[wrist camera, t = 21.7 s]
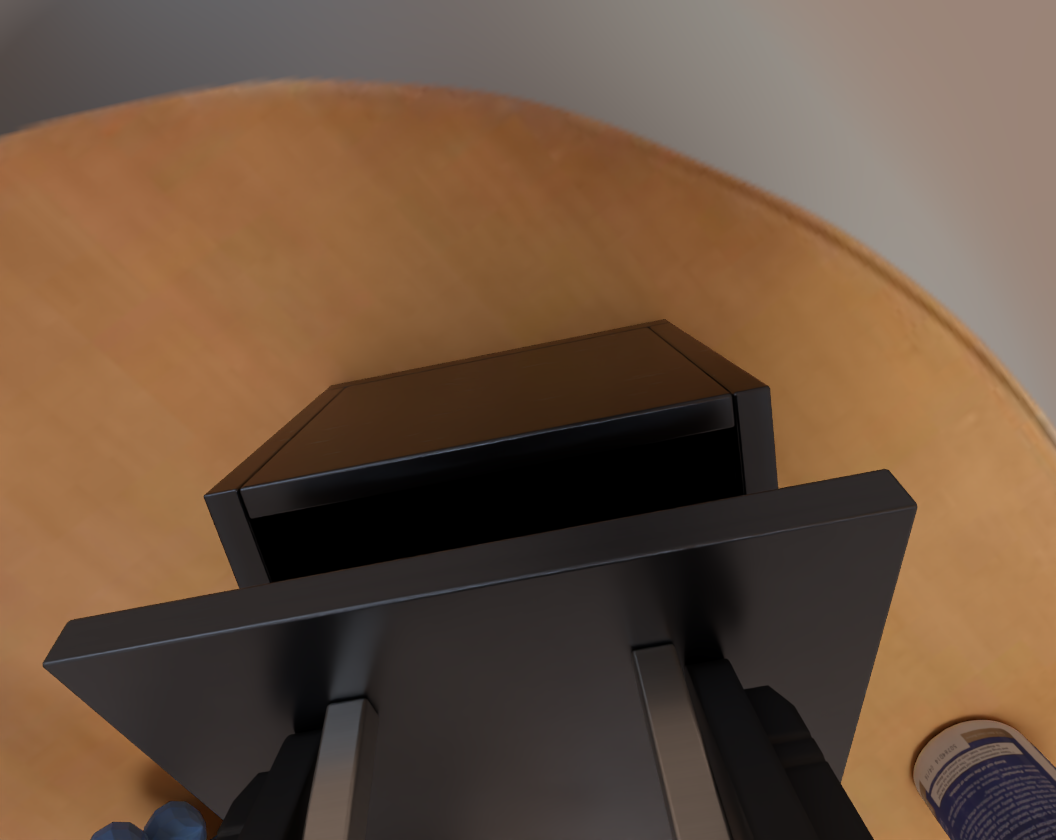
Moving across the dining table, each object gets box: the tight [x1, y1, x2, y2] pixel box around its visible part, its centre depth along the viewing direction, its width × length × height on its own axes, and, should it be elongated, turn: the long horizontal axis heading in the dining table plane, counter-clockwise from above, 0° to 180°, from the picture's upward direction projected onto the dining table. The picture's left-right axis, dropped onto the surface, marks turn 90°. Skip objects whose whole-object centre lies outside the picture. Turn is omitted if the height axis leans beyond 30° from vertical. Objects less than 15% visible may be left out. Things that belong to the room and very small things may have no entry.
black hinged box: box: [204, 319, 778, 589], centre depth 20 cm, size 13×13×10 cm
